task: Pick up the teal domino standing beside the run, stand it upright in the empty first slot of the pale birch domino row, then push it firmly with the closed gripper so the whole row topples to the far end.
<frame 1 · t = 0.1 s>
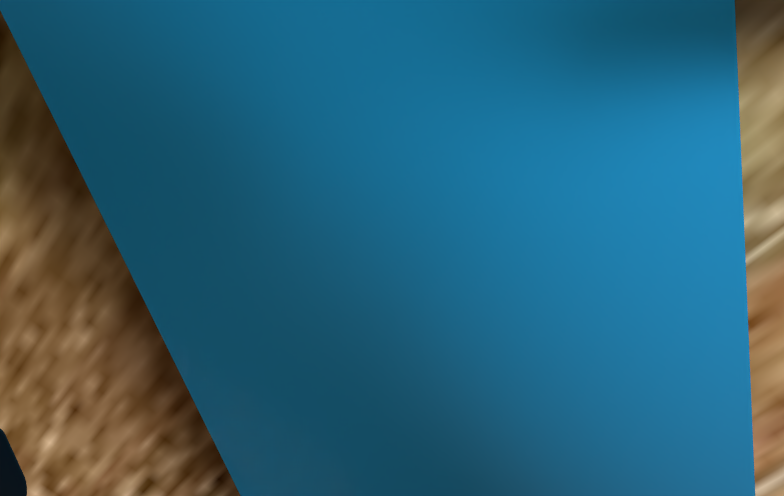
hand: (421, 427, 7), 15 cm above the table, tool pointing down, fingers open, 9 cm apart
book: (430, 178, 23), on the table
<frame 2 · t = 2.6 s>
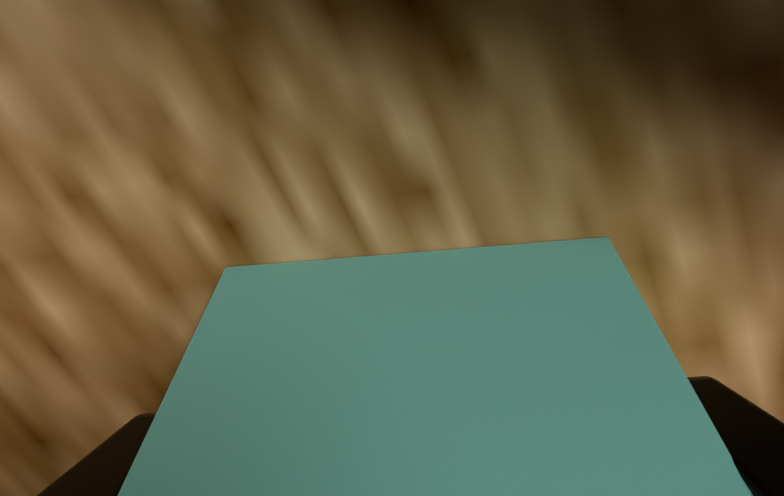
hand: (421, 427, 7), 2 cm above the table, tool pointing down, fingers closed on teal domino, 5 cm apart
teal domino: (418, 304, 10), on the table, touching gripper
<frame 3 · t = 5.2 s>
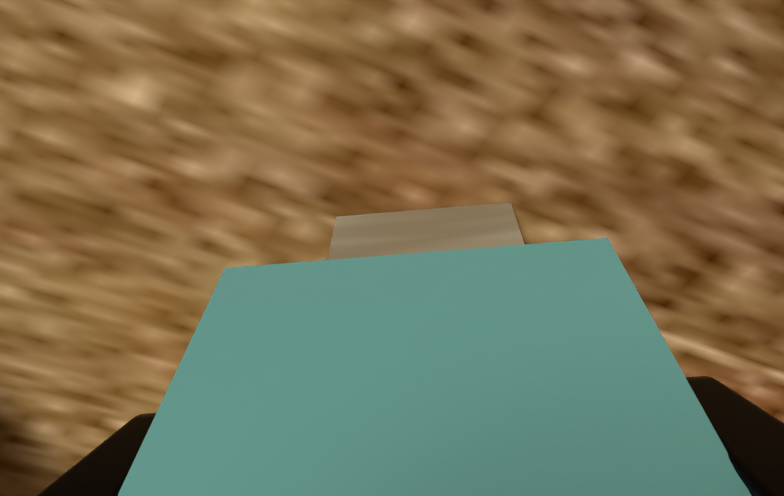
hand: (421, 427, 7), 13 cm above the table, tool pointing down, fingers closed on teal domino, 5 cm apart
teal domino: (418, 305, 10), point 10 cm above the table, touching gripper
domino 2: (425, 234, 21), on the table
when the fingers open (3 cm above the table, at t = 7.7 s): teal domino stays where it is, on the table.
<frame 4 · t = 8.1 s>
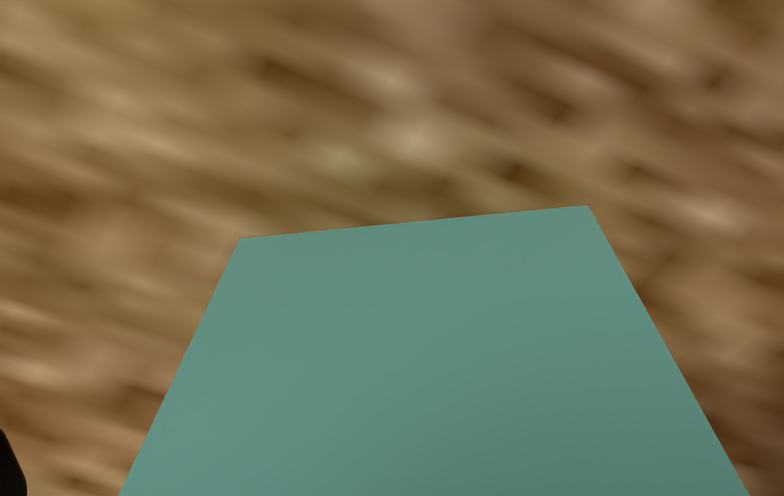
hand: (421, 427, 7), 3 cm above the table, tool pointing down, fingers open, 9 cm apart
teal domino: (416, 270, 11), on the table
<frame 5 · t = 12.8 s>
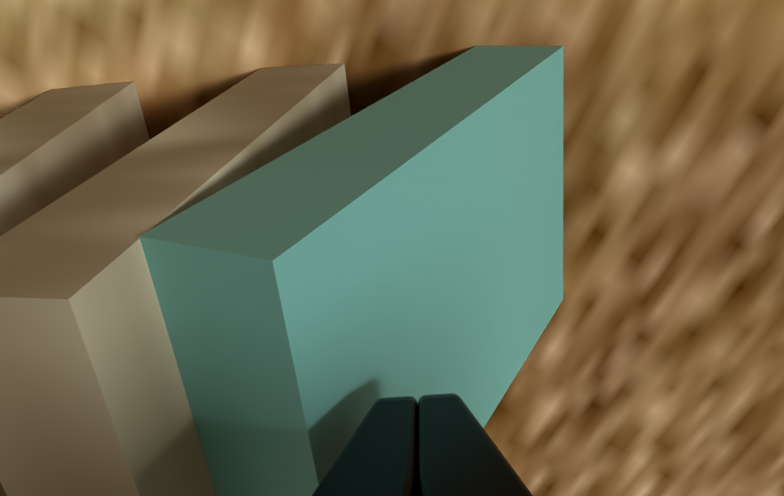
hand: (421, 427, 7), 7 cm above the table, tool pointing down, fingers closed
teal domino: (521, 179, 13), on the table, tilted 28°, touching domino 2
domino 3: (129, 207, 14), on the table
domino 2: (322, 193, 14), on the table, tilted 11°, touching teal domino
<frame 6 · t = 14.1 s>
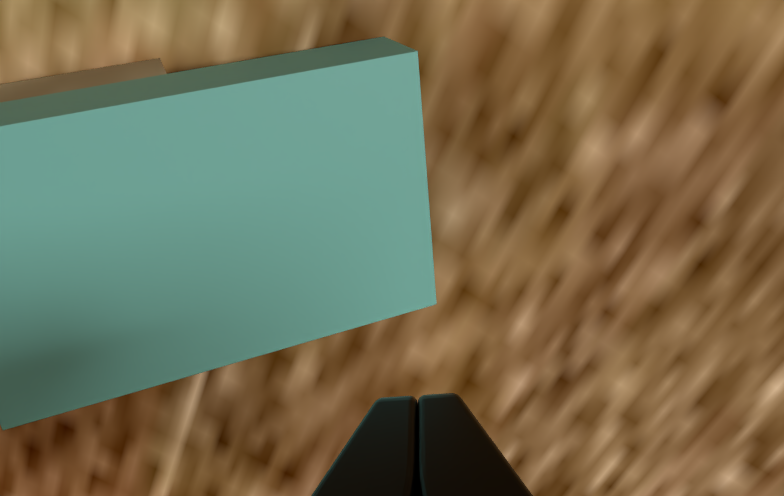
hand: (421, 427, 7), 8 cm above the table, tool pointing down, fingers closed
teal domino: (411, 175, 14), point 1 cm above the table, tilted 68°, touching domino 2
domino 2: (193, 193, 14), point 1 cm above the table, tilted 68°, touching domino 3, teal domino
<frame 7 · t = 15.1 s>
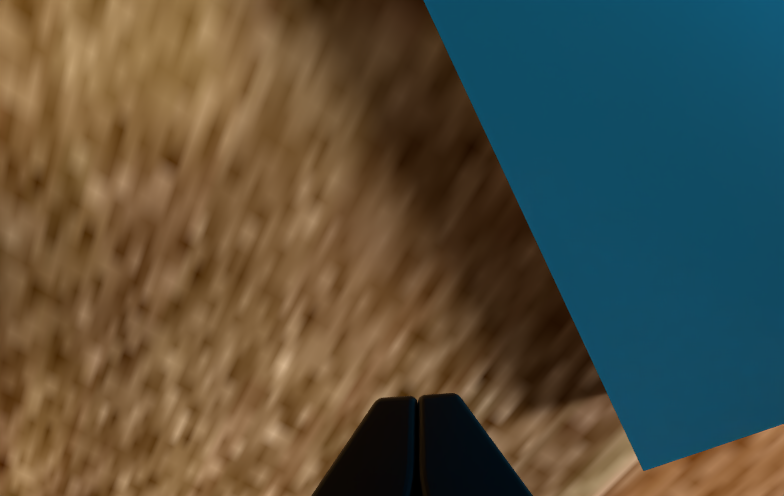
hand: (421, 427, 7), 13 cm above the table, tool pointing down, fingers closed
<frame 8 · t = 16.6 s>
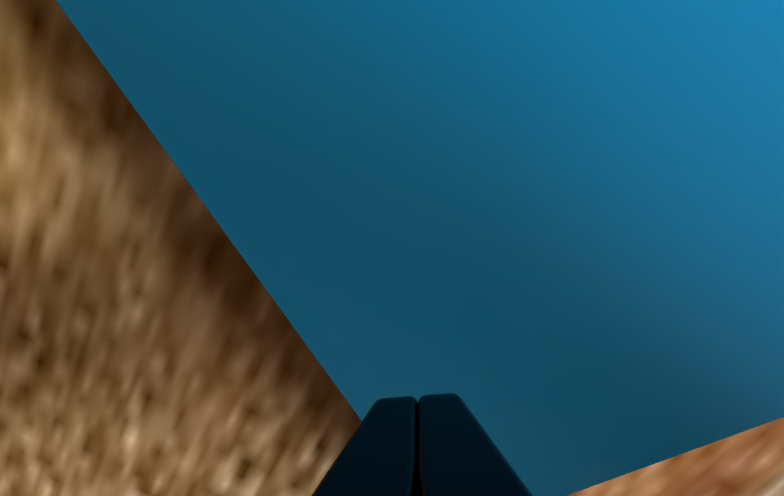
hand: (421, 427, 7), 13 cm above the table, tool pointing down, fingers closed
book: (512, 12, 19), on the table
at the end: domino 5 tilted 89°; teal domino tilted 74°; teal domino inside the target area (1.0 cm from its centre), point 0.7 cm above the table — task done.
